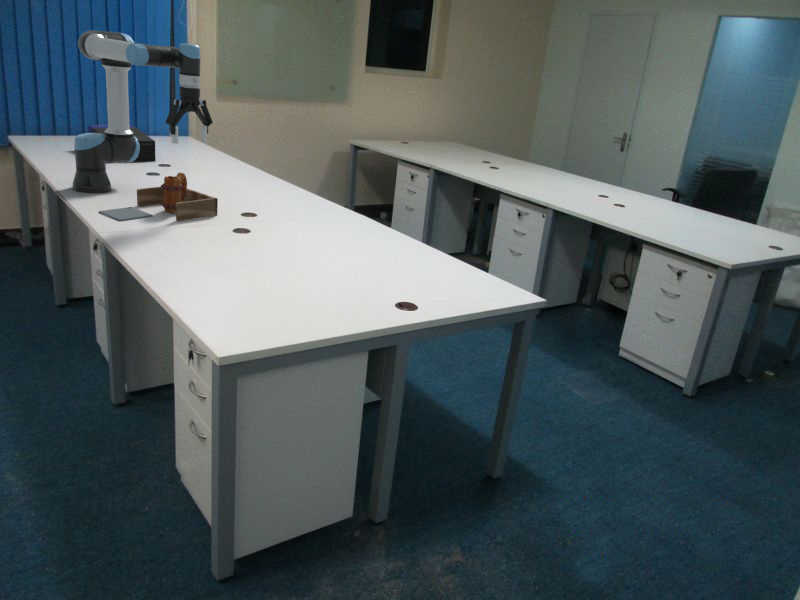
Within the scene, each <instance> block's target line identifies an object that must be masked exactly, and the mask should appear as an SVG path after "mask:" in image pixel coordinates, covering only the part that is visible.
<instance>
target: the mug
mask: <svg viewBox="0 0 800 600" xmlns="http://www.w3.org/2000/svg"><path fill="white" fill-rule="evenodd" d="M163 179H164V180H163V184H161V185H160V187H162V188H163V189H164V201H163V202H162V203H161V204H160V206H162V207H163V209H164V212H166V213H168V214H176V203H180V202H183V201H182V200H183V199H184V197H185V194H186V190H187V188H188V180H187V176H186V173H184V172H180V171H179V172H177V174H176V176H172V175H168V176H165V177H164V178H163Z"/></svg>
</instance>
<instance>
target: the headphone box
mask: <svg viewBox="0 0 800 600" xmlns="http://www.w3.org/2000/svg"><path fill="white" fill-rule="evenodd" d="M129 127H130V130H131V131H132V132H133V136H135V137H136V138H137V139H138V142H139V145H140V151H139V155H138V157H137V158H136V159H135V160H134V161H132V162H131V163H133V162H135V163H143V162H145V163H146V162H156V141H155V140H154V139H152V138H151V137H150V136H149V135H147V134H146V133H144V132H143V131H142V130H140V129H138V128H137V127H135V126H134V125H129ZM107 128H108V124H88V132H87V133H101V134H103V135H104V136H105V130H106V129H107Z"/></svg>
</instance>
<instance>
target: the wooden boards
mask: <svg viewBox="0 0 800 600" xmlns="http://www.w3.org/2000/svg"><path fill="white" fill-rule="evenodd" d="M218 200H219V199H218V197H215V196H212V195H208V194H205V193H202V192H200V191H196V190H193V189H190V188H188V187H187V190H186V194H185V197H184V199H183V200H182V201H183V202H180V203H176V213H175V221H176V222H181V221H188V220H195V218H196V219H201V217H202V218H208V217H213V216H218V205H219V204H218V202H219V201H218ZM163 201H164V189H163V188H162V187H161V186H154V187H144V188H137V189H136V206H137V207H147V206H154V205H161V203H162V202H163ZM207 216H208V217H207Z"/></svg>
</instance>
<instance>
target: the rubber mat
mask: <svg viewBox="0 0 800 600" xmlns="http://www.w3.org/2000/svg"><path fill="white" fill-rule="evenodd" d="M98 214H102V215H104V216H106V217H109V218H111V219H113V220H116V221H119V222H124V221H130V220H137V219H144V218H152V217H153V214H151V213H149V212H146V211H143V210H141V209H138V208H135V207H133V206H130V207H129V206H128V207H121V208H120V207H119V208H114V209H106V210H99V211H98Z"/></svg>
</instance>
